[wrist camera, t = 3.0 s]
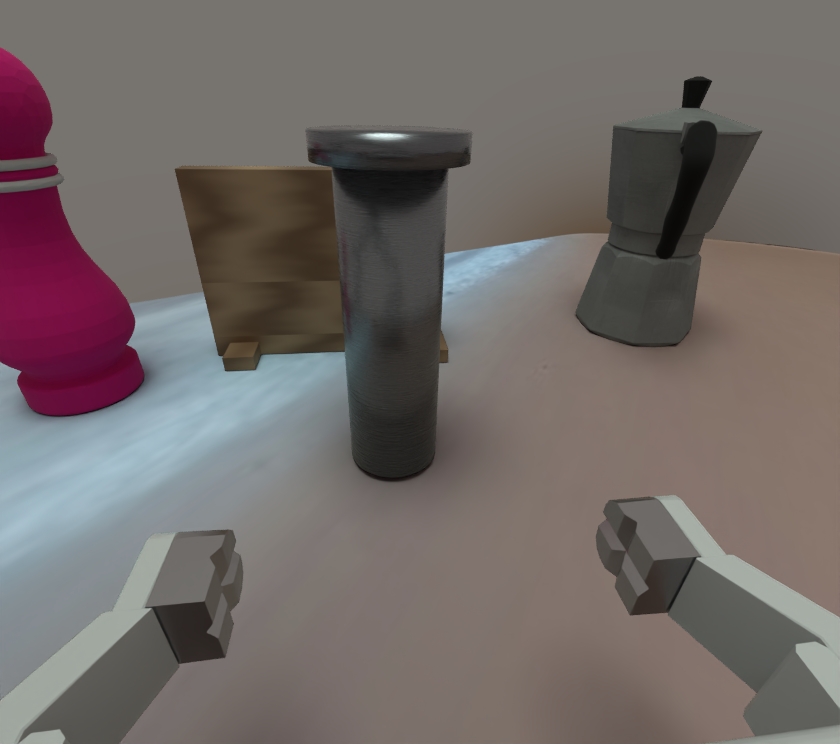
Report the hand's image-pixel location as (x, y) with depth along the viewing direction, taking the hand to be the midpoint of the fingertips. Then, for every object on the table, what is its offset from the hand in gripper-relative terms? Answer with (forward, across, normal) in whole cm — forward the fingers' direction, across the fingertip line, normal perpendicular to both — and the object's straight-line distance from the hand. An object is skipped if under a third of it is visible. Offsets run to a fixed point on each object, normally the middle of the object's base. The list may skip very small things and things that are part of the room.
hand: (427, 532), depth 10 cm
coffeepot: (+26, -21, +8) cm, 35 cm away
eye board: (+25, +4, +8) cm, 26 cm away
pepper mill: (+20, +19, +8) cm, 29 cm away
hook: (+19, 0, +8) cm, 21 cm away
